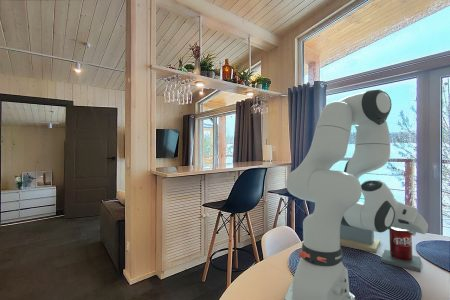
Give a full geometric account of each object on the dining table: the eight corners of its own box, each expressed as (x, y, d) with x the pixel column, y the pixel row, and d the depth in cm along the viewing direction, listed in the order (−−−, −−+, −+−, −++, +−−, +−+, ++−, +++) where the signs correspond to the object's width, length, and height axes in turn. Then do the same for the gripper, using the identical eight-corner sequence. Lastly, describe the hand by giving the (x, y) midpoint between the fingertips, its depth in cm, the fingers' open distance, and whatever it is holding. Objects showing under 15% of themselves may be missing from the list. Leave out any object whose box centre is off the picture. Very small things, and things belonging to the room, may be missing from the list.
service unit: (375, 252, 101) (374, 212, 101) (332, 243, 113) (331, 207, 113) (380, 243, 112) (379, 206, 112) (340, 235, 123) (339, 202, 124)
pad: (420, 271, 84) (420, 268, 84) (381, 262, 92) (381, 259, 92) (420, 260, 93) (420, 257, 93) (384, 252, 101) (384, 249, 101)
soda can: (417, 261, 89) (416, 230, 90) (399, 262, 89) (398, 231, 90) (402, 253, 97) (401, 225, 97) (385, 254, 96) (384, 225, 97)
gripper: (357, 211, 97) (371, 230, 101) (417, 223, 79) (430, 245, 84) (363, 199, 99) (376, 218, 104) (422, 208, 81) (434, 231, 86)
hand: (400, 230), depth 93 cm, fingers closed on soda can, 7 cm apart
